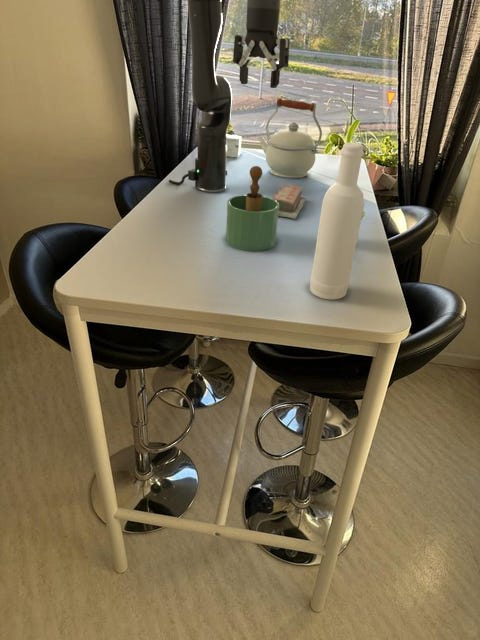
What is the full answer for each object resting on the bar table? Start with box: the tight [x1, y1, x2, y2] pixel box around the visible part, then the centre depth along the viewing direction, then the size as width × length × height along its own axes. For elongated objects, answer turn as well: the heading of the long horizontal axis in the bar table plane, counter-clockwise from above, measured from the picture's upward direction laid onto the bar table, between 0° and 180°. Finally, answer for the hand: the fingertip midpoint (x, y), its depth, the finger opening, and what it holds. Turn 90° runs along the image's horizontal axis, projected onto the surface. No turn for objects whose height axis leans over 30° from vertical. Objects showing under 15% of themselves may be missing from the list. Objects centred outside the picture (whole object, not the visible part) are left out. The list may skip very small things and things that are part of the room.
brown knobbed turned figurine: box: [246, 165, 263, 211], centre depth 113 cm, size 7×6×18 cm
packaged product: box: [271, 184, 307, 220], centre depth 139 cm, size 18×5×10 cm
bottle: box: [309, 142, 365, 301], centre depth 90 cm, size 8×8×30 cm
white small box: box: [226, 134, 242, 158], centre depth 189 cm, size 6×6×7 cm
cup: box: [225, 194, 280, 252], centre depth 115 cm, size 13×13×10 cm
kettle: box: [258, 98, 323, 179], centre depth 167 cm, size 25×18×25 cm
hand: (258, 85), depth 113 cm, fingers open, 8 cm apart
